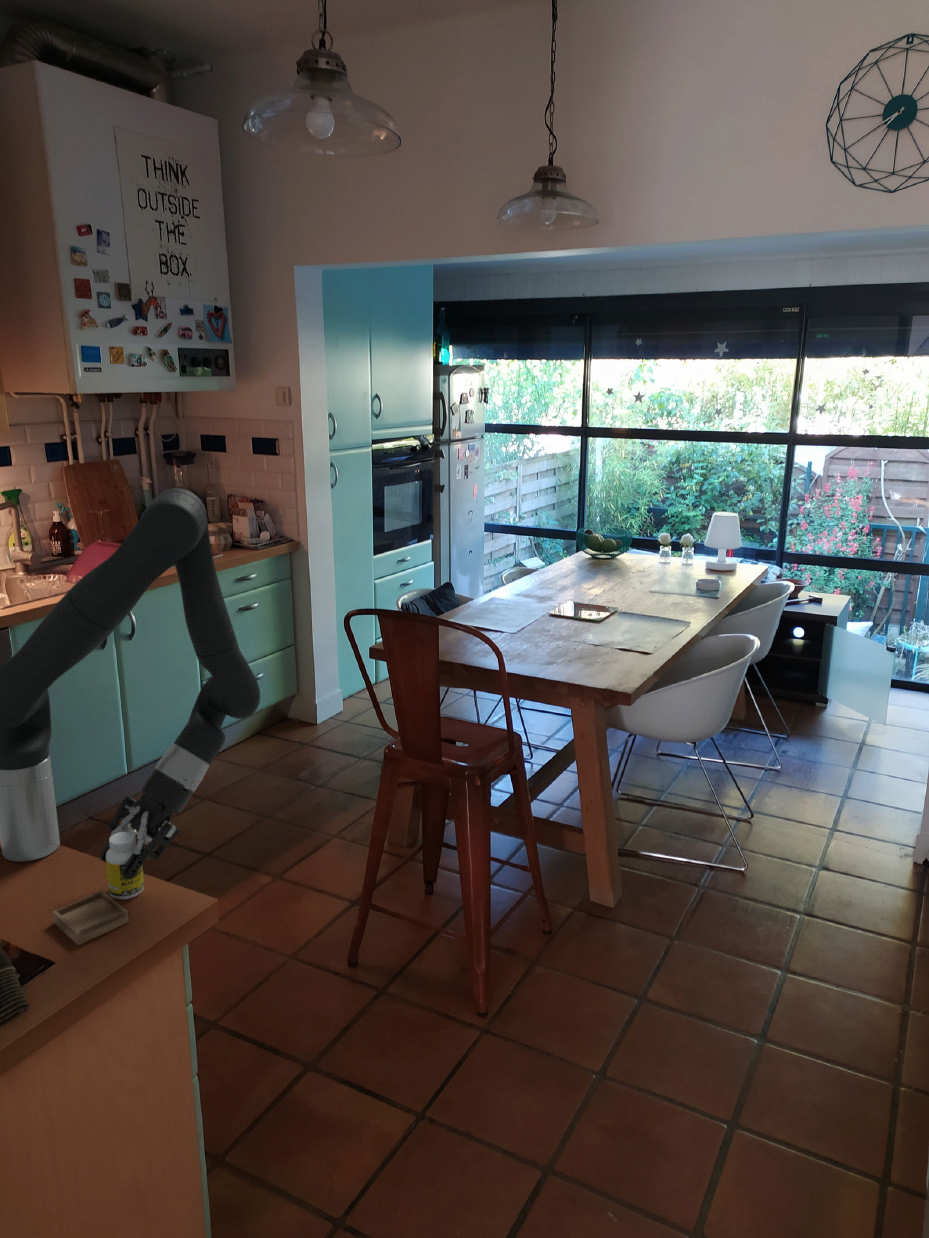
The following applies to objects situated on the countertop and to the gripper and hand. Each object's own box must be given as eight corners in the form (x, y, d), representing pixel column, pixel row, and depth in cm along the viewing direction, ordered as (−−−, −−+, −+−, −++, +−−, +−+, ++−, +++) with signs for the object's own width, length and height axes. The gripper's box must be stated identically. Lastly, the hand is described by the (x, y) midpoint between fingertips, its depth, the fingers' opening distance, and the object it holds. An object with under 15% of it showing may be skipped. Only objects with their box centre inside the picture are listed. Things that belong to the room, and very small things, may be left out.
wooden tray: (53, 922, 140) (52, 911, 139) (103, 901, 146) (102, 890, 145) (78, 945, 135) (76, 933, 134) (128, 921, 141) (127, 910, 140)
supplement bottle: (121, 904, 145) (116, 849, 142) (102, 892, 148) (96, 838, 145) (151, 889, 149) (146, 836, 146) (131, 877, 152) (127, 825, 149)
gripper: (137, 755, 153) (75, 844, 148) (183, 782, 144) (119, 878, 139) (168, 773, 158) (109, 860, 153) (215, 801, 149) (154, 894, 144)
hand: (114, 868), depth 146 cm, fingers open, 6 cm apart
